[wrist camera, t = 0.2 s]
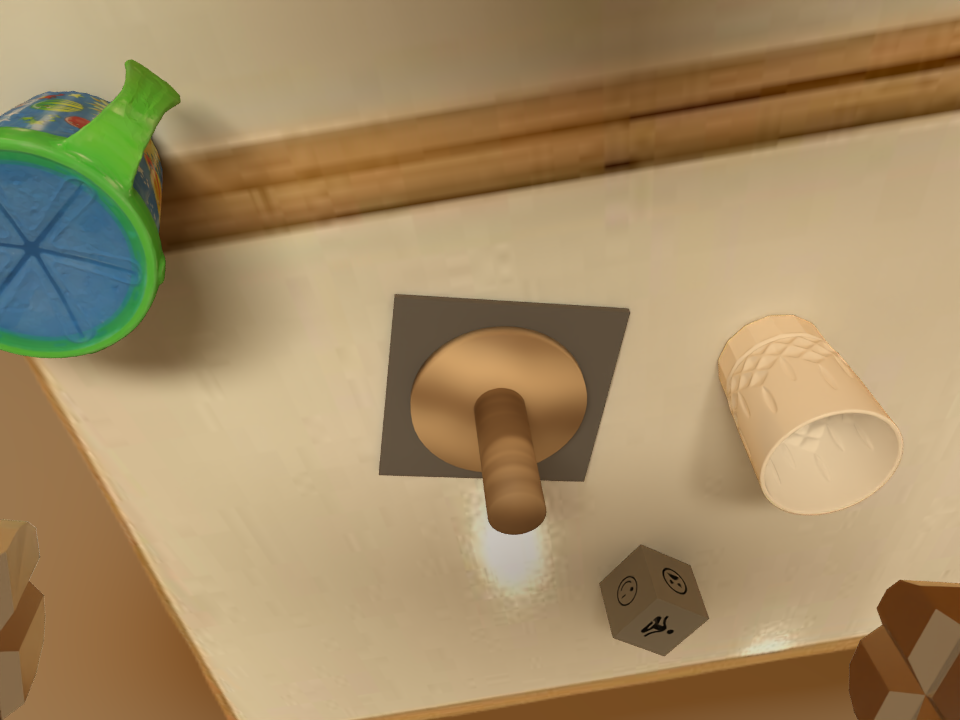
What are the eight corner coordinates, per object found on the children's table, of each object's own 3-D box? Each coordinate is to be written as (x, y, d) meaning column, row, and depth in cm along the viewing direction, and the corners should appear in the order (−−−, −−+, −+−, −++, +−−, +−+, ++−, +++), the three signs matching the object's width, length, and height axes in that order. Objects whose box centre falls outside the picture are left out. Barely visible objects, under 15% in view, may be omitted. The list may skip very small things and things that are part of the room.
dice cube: (640, 543, 67) (657, 598, 63) (690, 564, 69) (709, 618, 65) (599, 582, 70) (613, 637, 66) (648, 602, 72) (664, 656, 68)
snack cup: (98, -34, 41) (28, 38, 32) (273, 134, 46) (251, 231, 38) (-99, 179, 46) (-202, 287, 38) (79, 308, 51) (23, 427, 43)
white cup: (778, 283, 54) (847, 386, 46) (855, 345, 58) (931, 452, 50) (682, 368, 58) (731, 478, 50) (760, 422, 61) (818, 534, 53)
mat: (394, 294, 52) (394, 297, 52) (628, 308, 54) (630, 312, 54) (379, 470, 60) (379, 475, 60) (582, 477, 63) (583, 481, 62)
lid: (418, 320, 53) (425, 434, 45) (600, 331, 55) (637, 442, 47) (403, 459, 60) (407, 579, 52) (566, 464, 61) (594, 582, 53)
